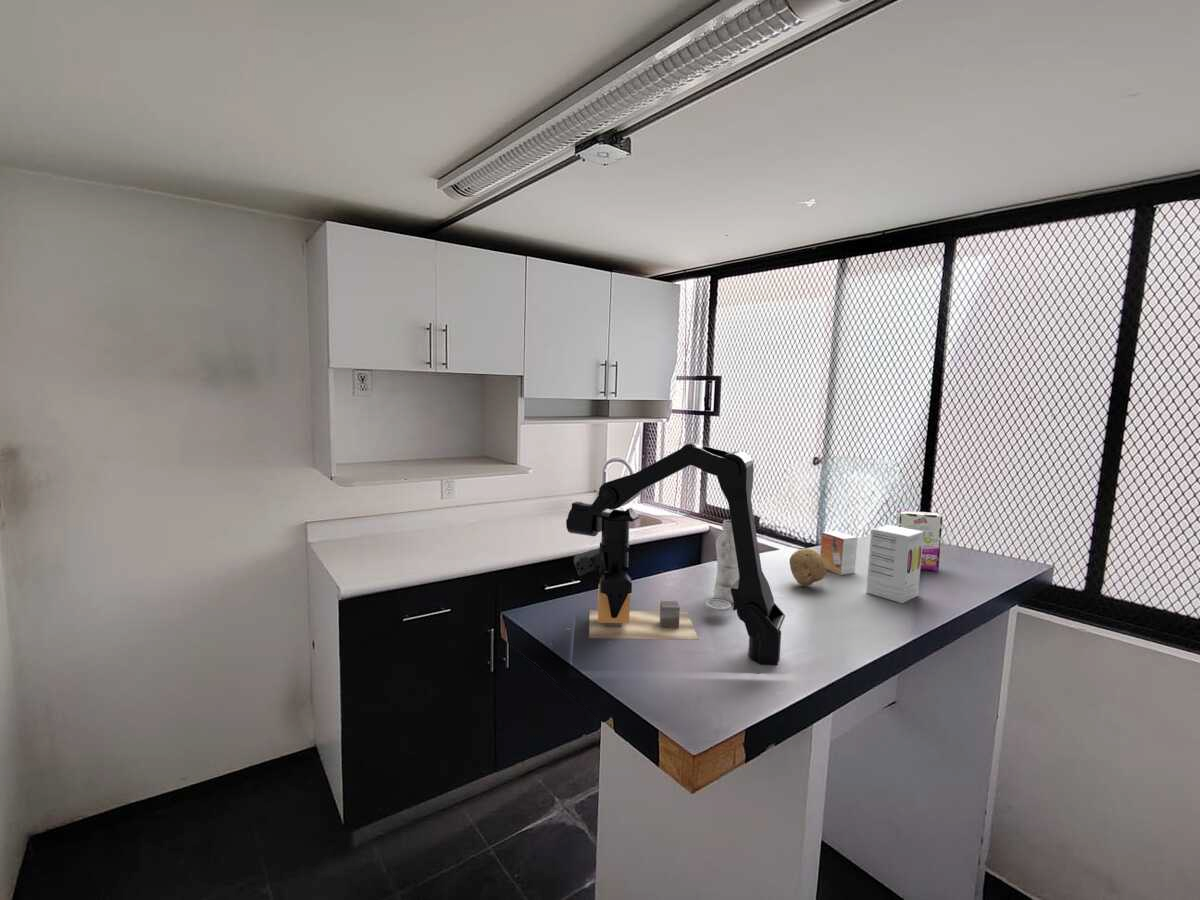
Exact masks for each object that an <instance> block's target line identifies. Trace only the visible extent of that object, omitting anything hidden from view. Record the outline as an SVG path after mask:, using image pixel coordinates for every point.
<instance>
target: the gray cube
mask: <svg viewBox="0 0 1200 900" xmlns="http://www.w3.org/2000/svg"><path fill="white" fill-rule="evenodd" d="M604 626H605V627H622V623H604Z"/></svg>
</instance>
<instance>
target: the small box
mask: <svg viewBox="0 0 1200 900" xmlns="http://www.w3.org/2000/svg"><path fill="white" fill-rule="evenodd" d="M857 547H858V537H857V536H854V535H850V534H846V533H843V532H840V531H837V530H830V531H823V532H821V544H820V553H819V555H820V556H821V557H822V559H823V561H824V564H825V566H826V571H827V570H828V571H830V572H833V573H835V574H837V575H839V576H843V575H844V576H845V575H848V574H854V573H855V571H856V559H857V549H858V548H857Z"/></svg>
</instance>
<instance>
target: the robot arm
mask: <svg viewBox="0 0 1200 900" xmlns="http://www.w3.org/2000/svg"><path fill="white" fill-rule="evenodd" d="M689 466H693V467H694V468H695V467H696V468H697V469H699V470H701V471H703V472H705V473H707V474H710V475H713V476H715V477H716V478H717V480H718V484H719V488H720V489H721V492H722V493H723V495H724V497H725V499H726V501H727V504H728V510H729V516H730V520H731V524H732V531H733V537H734V544H735V550H736V557H737V563H738V570H739V580H737V581H736V582H735V584H734V585H733V586H732V588H731V594H732V597H733V601H734V604H733V608H732V610H733V611H734V612H735V611H736V614H737V617H738V618H739V620H740V621H741V622H743V623H744V625H745V630H746V633H747V635H748V652H747V654H748V655H747V656H748V658H749V659H750V660H751V661H753V662H756V663H758V664H759V665H760V666H778V664H779V661H780V656H781V644H782V643H781V642H782V641H781V640H782V631H781V627H782V625H783V623H784V621H785V618H786V615H785V613H784V612H783V611H782V610H781V609H780V608H779V606H778V605H777V604H776V603H775V599H774V595H773V593H772V589H771V587H770V584H769V582H768V580H767V577H766V576H765V574H764V572H763V568H762V563H761V556H760V549H759V543H758V537H757V536H758V535H757V529H756V524H755V522H756V521H755V518H754V516H755V515H754V510H753V509H754V508H753V502H752V493H753V485H754V466H755V465H754V461H753V459H752V457H751V456H750V454H749V455H748V454H747V453H746V452H743V451H740V450H735V451H732V452H729V451H726V450H724V449H718V448H714V447H712V446H711V447H710V446H707V445H702V444H701V443H698V442H691V443H687V444H684V445H683V446H682V447H681V448H680V449H678V450H676V451H674V452H672V453H671V454H668V455H667V456H665V457H662V458H661V459H659V460H657V461H656V462H653V463H652V464H650V465H648V466H646V467H644V468H642V469H641V470H639V471H637V472H635V473H631V474H628V475H625V476H622V477H618V478H615V479H613V480H610V481H607V482H604V483H603V484H601V485H600V487H599V490H598V496H597V497H596V499H595V500H594V501H593V502H592V504H591V503H584V502H581V501H575V502H572V503H571V509H570V510H569V512H568V516H567V519H566V520H565V521H566V523H565V524H566V526H565V527H566V530H567V532H568V533H570V534H574V535H582V536H588V537H596V536H597V535H598V533H601V540H600V542H599V548H595V549H591V550H588V551H585V552H581V553H579V554H576V555H575V556H574V557H573V563H574V566H575V570H576V572H577V574H578V576H584V575H586V574H588V573H590V572H593V571H596V570H599V575H601V576H600V577H599V584H600V593H605V594H606V595H607V596H608V601H609V607H610V612H611V617H612V618H617V616H618V614H619V612H620V610H621V608H622V605H623V604H624V601H625V599H626V598H627V596H628V594H630V595H631V594H632V593H633V589H632V588H633V583H632V578H631V577H630V576H629V575H628V572H630V566H629V553H630V542H629V541H630V522H635V521H637V520H638V519H640V516H639V513H637V512H636V511H635V510H634V509H633V507H629V508H626V510H621V509H619V508H621V507H623V506H625V505H628V504H630V503H631V502H632V501H634V500H635V499H636V498H637V497H639V496H640V495H641V494H643V492H644V491H645V490H646V489H648V488H650V487H651V486H653V485H655V484H656V483H659V482H661V481H662V480H665V479H667V478H668V477H670V476H673V475H674V474H676V473H679V472H680V471H682V470H683V469H685V468H688V467H689ZM606 510H611V511H610V512H606Z"/></svg>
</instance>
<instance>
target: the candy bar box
mask: <svg viewBox="0 0 1200 900" xmlns="http://www.w3.org/2000/svg"><path fill="white" fill-rule="evenodd" d="M896 512H897V513H896V523H895V524H896V525H895V526H898V527H903V528H908V529H913V530H918V531H922V532H924V536H923V546H922V557H921V568H920V571H921V570H922V571H931V572H933V571H934V572H939V569H940V568H939V567H940V554H941V540H942V530H943V529H942V527H943V526H942V525H943V515H941V513H939V512H928V511H927V512H926V511H914V510H913V511H912V510H911V511H910V510H899V509H898V510H897V511H896Z"/></svg>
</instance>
